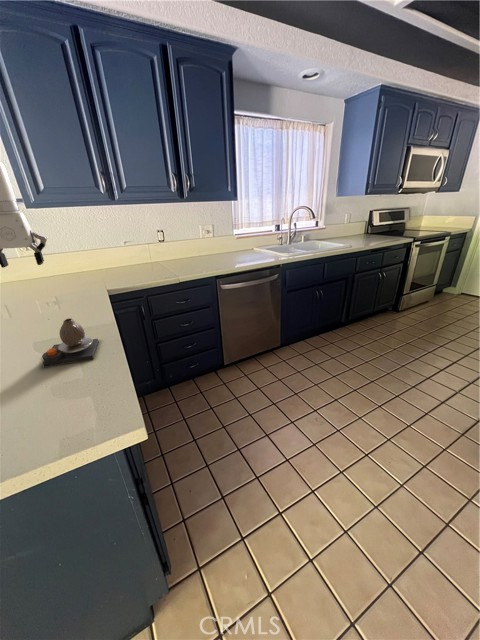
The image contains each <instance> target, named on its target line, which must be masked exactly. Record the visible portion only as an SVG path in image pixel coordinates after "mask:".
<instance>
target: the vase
mask: <svg viewBox="0 0 480 640" xmlns="http://www.w3.org/2000/svg"><path fill="white" fill-rule="evenodd" d="M85 333H86V332H85V329H84V328H83V326H82V325H81V324H80V323H79V322H77V321H75V320H74V319H73V318H72V317H71V318H69V317H68V318H65V319H64V320H63V322H62V325H61V326H60V328H59V338H60V340H61V343H64V344H66V345H68V346H77V345H80V344H81V343H82V342H83V341H84V338H85V337H86V334H85Z"/></svg>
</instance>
